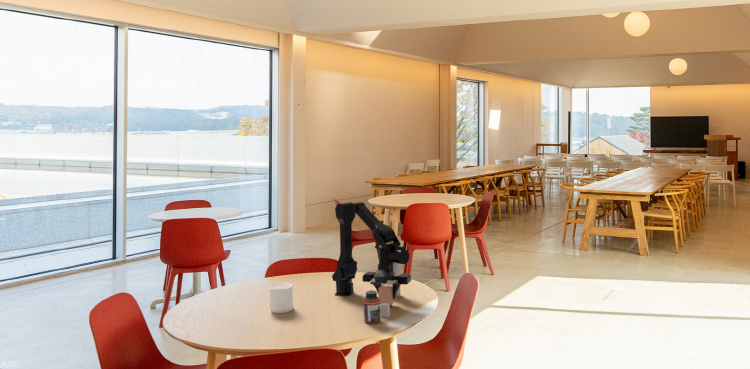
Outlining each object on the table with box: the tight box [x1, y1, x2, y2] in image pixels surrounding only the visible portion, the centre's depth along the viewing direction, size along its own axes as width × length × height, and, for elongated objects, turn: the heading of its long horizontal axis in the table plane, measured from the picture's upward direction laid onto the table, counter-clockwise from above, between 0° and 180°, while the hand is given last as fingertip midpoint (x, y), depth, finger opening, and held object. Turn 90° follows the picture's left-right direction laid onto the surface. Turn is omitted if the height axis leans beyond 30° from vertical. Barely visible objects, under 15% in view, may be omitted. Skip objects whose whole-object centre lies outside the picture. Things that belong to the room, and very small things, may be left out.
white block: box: [380, 303, 391, 318], centre depth 219 cm, size 3×3×4 cm
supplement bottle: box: [363, 289, 381, 325], centre depth 213 cm, size 6×6×11 cm
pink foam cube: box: [378, 284, 397, 306], centre depth 230 cm, size 5×5×7 cm
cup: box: [268, 282, 294, 314], centre depth 231 cm, size 10×10×10 cm
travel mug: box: [386, 263, 401, 299], centre depth 242 cm, size 6×7×20 cm
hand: (387, 299), depth 230 cm, fingers closed on pink foam cube, 5 cm apart
